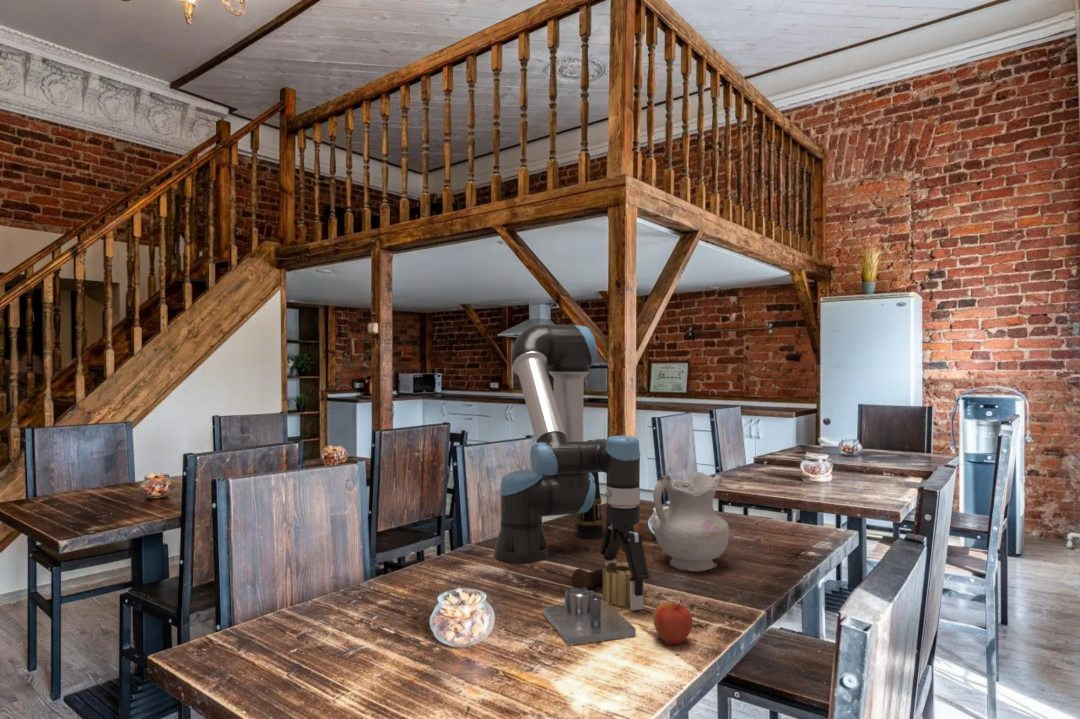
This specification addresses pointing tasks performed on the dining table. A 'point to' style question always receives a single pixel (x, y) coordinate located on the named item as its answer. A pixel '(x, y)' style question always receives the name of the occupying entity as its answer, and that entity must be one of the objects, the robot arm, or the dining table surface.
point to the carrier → (587, 618)
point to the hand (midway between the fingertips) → (623, 598)
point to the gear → (617, 583)
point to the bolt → (586, 578)
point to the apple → (672, 622)
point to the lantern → (591, 517)
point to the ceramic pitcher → (690, 522)
